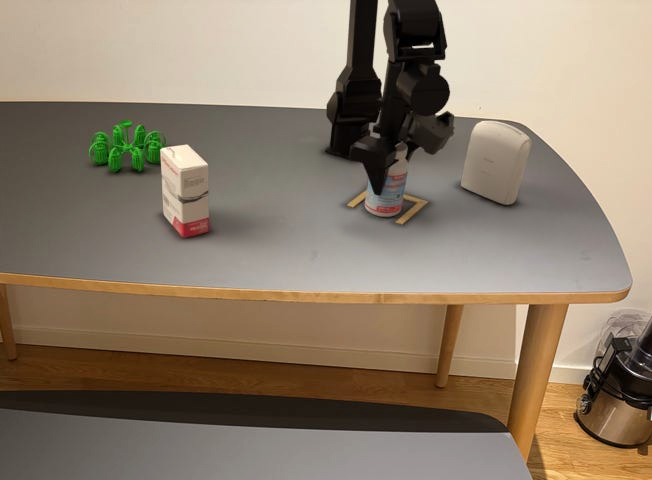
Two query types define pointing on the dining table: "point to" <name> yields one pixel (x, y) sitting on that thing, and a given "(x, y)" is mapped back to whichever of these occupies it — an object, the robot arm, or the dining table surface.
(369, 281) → the dining table surface
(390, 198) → the pill bottle
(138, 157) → the chandelier
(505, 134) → the photo printer
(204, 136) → the dining table surface
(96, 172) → the dining table surface
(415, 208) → the tape outline
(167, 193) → the ink box
